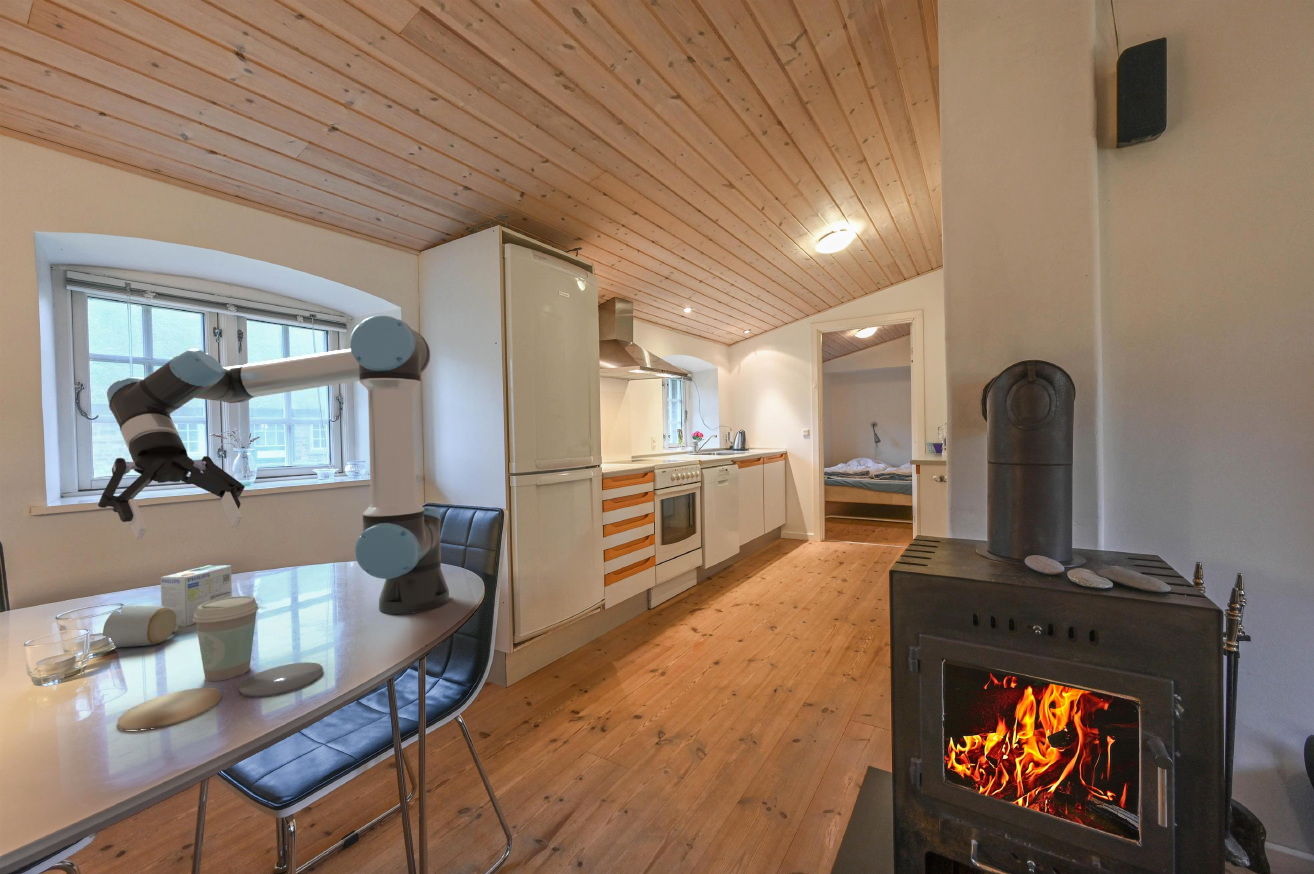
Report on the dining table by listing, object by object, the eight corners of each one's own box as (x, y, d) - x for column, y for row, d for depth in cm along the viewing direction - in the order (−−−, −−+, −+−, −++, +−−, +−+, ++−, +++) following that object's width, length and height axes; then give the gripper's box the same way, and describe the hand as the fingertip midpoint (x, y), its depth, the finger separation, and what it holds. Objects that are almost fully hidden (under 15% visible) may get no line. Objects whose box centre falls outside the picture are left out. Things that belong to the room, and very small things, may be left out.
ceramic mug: (150, 650, 98) (151, 609, 98) (101, 653, 97) (101, 612, 97) (191, 631, 109) (191, 594, 109) (147, 634, 107) (147, 596, 107)
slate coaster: (322, 660, 92) (322, 657, 92) (323, 684, 83) (323, 680, 83) (244, 676, 86) (244, 673, 86) (234, 704, 77) (234, 700, 77)
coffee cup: (190, 674, 87) (189, 603, 87) (254, 658, 93) (253, 591, 93) (197, 690, 81) (196, 614, 81) (264, 672, 88) (263, 601, 88)
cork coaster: (226, 684, 83) (226, 681, 83) (214, 714, 74) (214, 710, 74) (131, 705, 77) (131, 701, 77) (105, 740, 68) (105, 735, 68)
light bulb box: (208, 610, 122) (208, 564, 122) (233, 610, 121) (233, 564, 121) (159, 626, 111) (158, 576, 112) (186, 627, 111) (185, 576, 111)
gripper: (225, 455, 111) (263, 530, 105) (52, 459, 89) (86, 554, 82) (238, 430, 109) (278, 505, 102) (64, 428, 87) (99, 523, 80)
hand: (192, 527), depth 92 cm, fingers open, 13 cm apart
